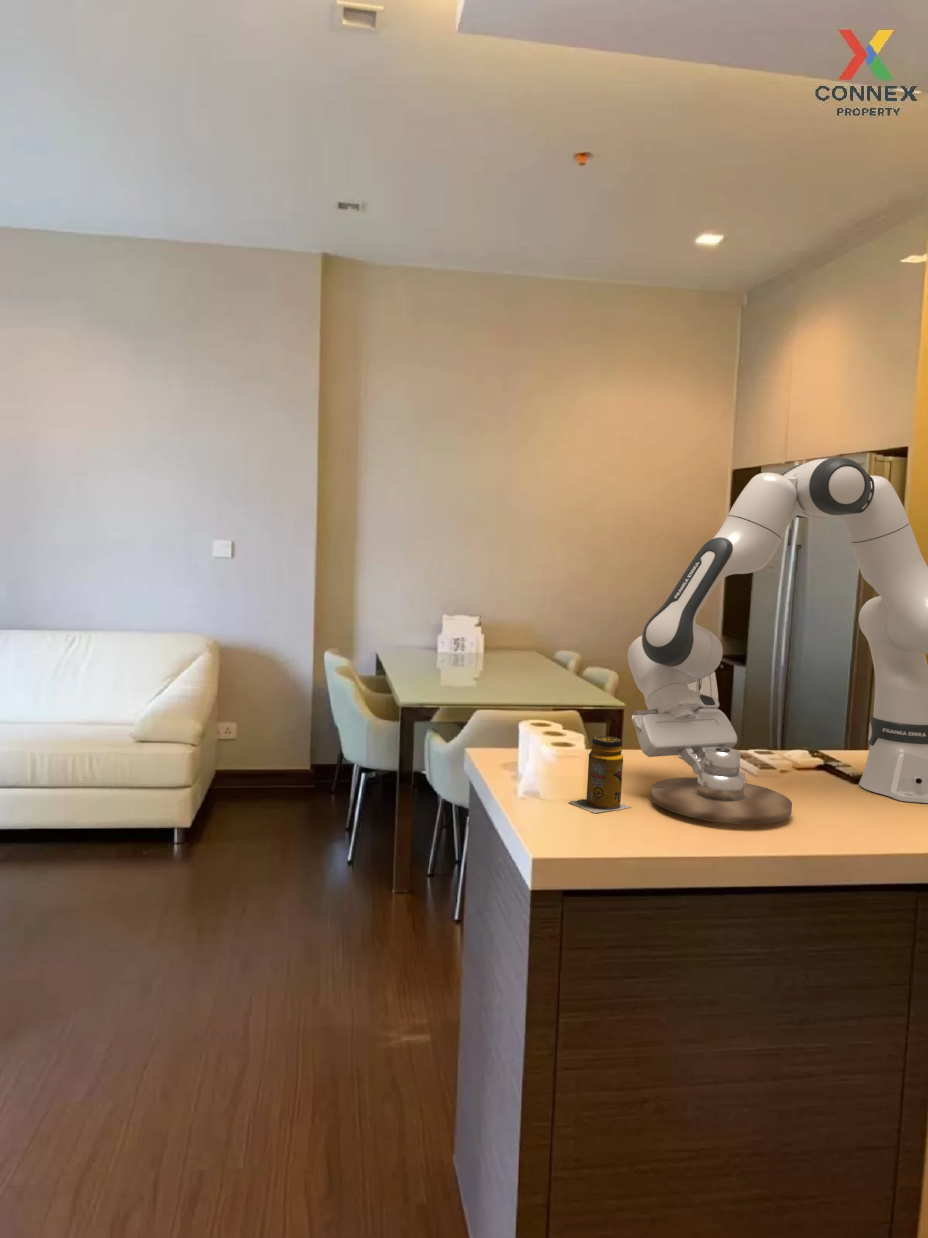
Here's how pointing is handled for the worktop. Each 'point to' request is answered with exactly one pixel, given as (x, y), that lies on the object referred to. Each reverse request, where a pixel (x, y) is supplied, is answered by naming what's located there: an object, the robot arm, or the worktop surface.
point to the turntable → (721, 803)
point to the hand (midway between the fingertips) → (704, 771)
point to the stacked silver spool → (721, 775)
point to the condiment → (604, 776)
